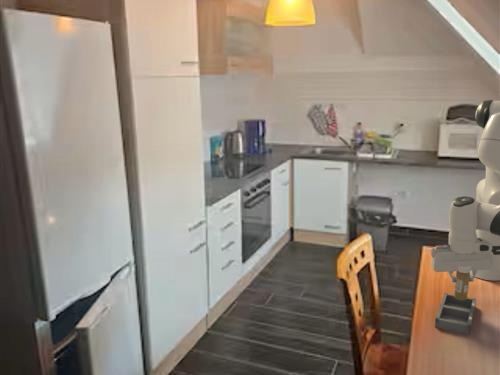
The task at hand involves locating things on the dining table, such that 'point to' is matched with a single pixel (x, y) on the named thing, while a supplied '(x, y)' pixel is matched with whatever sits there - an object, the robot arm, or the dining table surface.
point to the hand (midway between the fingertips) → (461, 281)
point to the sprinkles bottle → (462, 282)
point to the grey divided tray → (455, 314)
